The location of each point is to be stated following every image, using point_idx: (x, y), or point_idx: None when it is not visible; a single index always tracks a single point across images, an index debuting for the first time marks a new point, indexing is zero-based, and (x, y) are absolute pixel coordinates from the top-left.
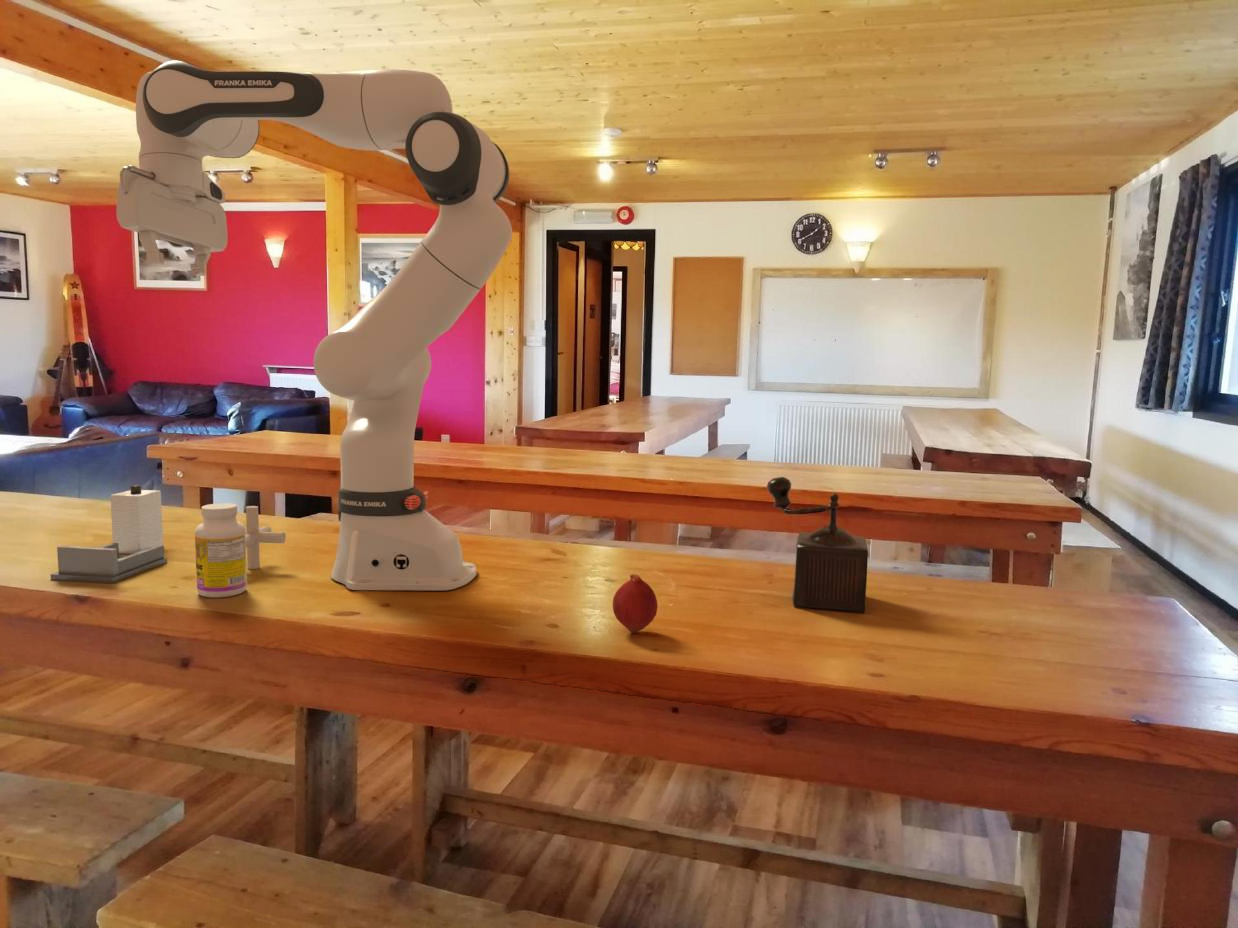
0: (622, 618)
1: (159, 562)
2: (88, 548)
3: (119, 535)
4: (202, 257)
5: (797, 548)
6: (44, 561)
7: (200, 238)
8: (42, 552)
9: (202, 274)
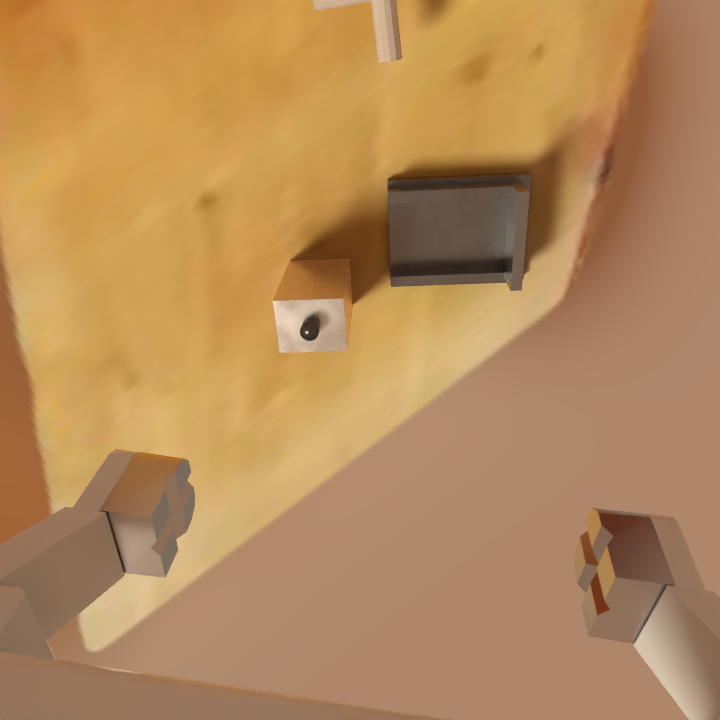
0: None
1: (409, 179)
2: (524, 237)
3: (350, 305)
4: (42, 584)
5: None
6: (426, 356)
7: (64, 716)
8: (379, 395)
9: (148, 456)
